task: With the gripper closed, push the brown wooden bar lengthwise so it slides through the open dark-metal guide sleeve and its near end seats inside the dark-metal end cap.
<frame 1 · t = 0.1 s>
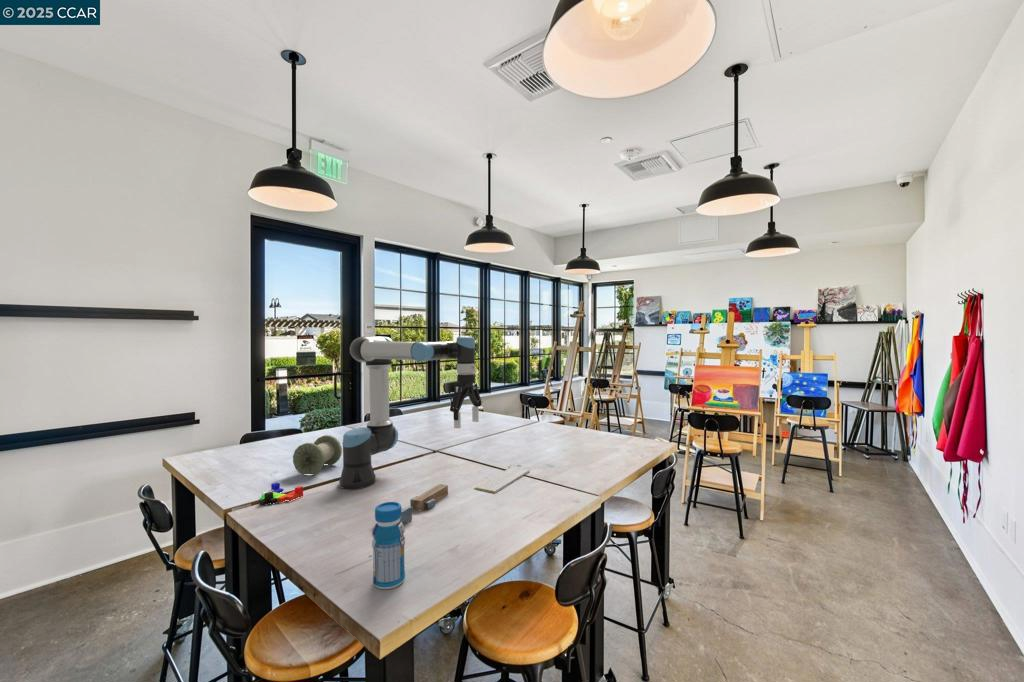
hand: (466, 424, 176), 28 cm above the table, fingers open, 13 cm apart
spool: (318, 470, 206), on the table
brown wooden bar: (430, 502, 166), on the table
beverage bottle: (389, 581, 112), on the table
end cap: (394, 521, 148), on the table
baseboard: (501, 481, 190), on the table
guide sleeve: (422, 505, 161), on the table
building blocks: (275, 501, 169), on the table
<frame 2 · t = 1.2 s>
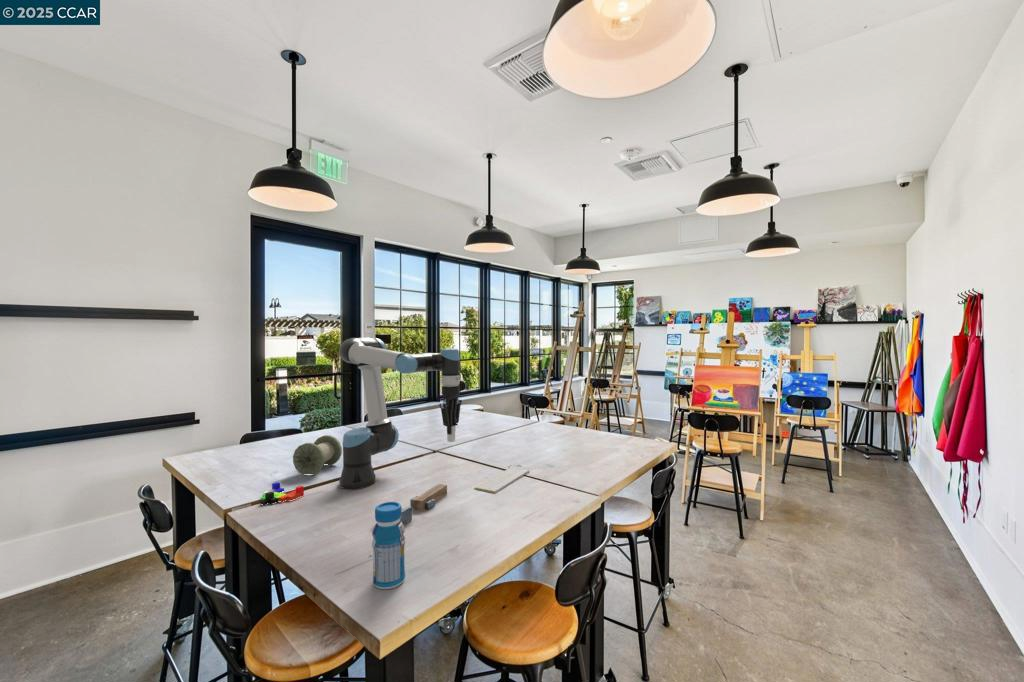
hand: (451, 441, 178), 20 cm above the table, fingers closed
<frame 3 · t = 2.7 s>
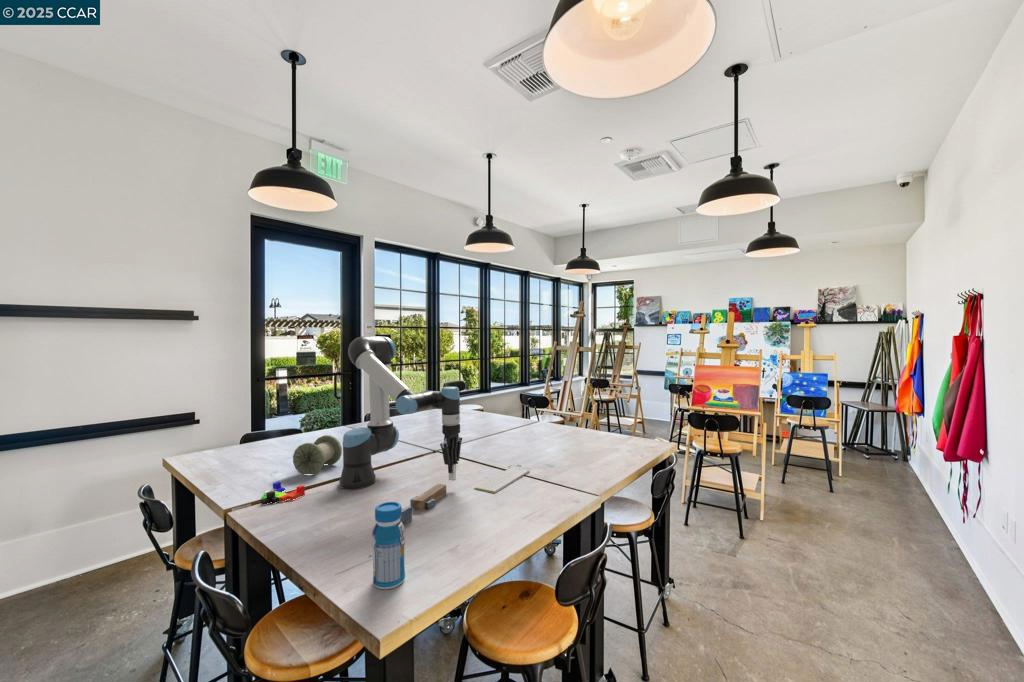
hand: (452, 479, 178), 4 cm above the table, fingers closed
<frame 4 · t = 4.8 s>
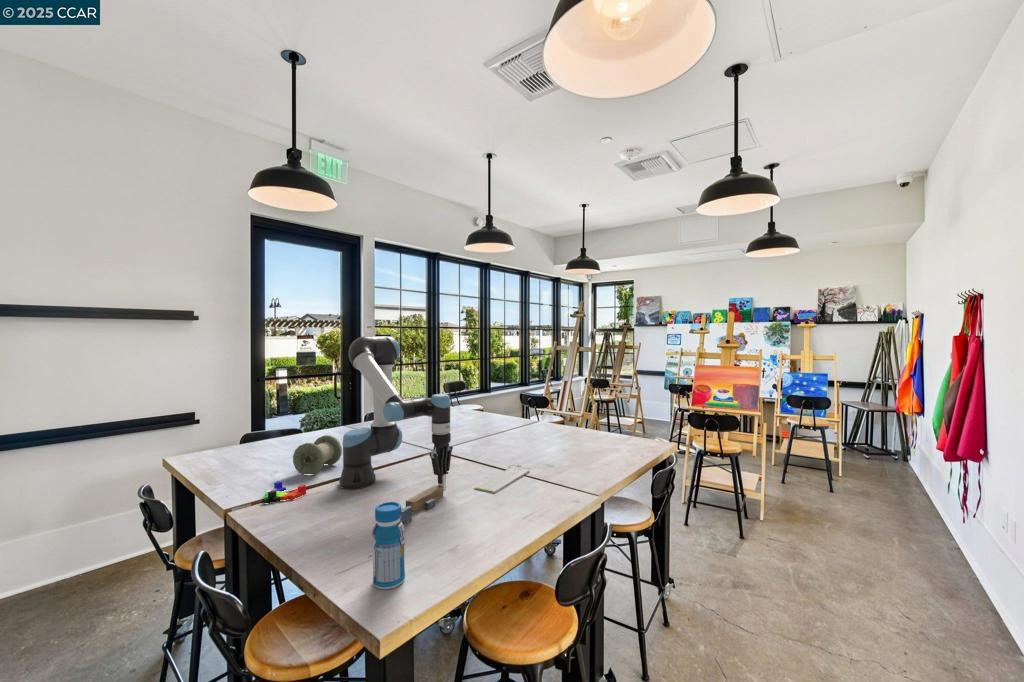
hand: (442, 490, 172), 2 cm above the table, fingers closed
brown wooden bar: (425, 503, 164), on the table, touching gripper
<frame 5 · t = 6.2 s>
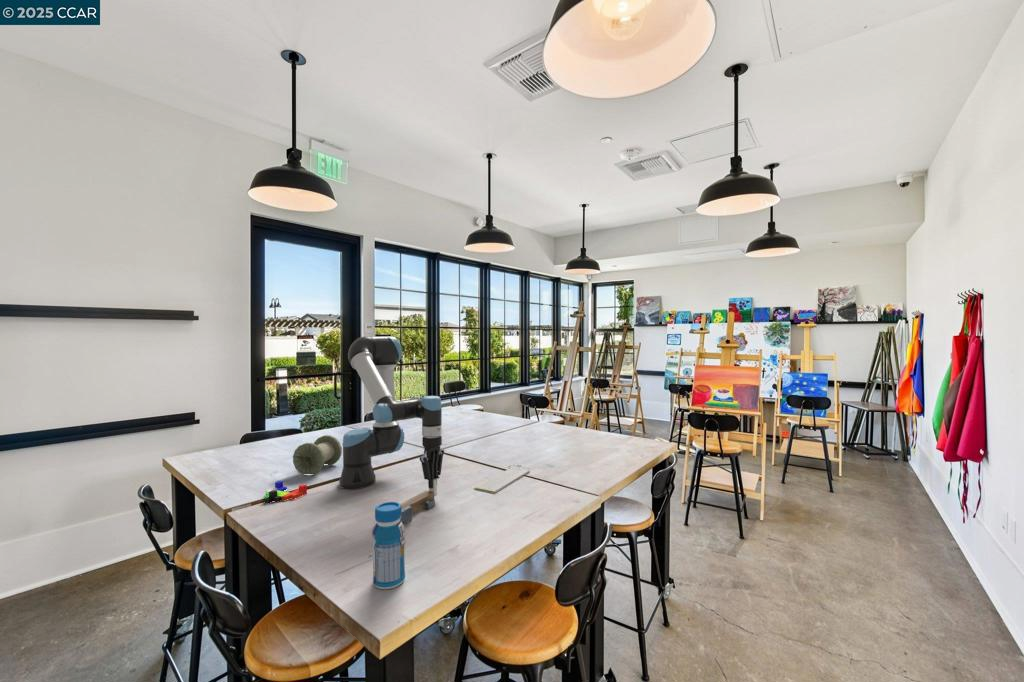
hand: (432, 495, 167), 2 cm above the table, fingers closed
brown wooden bar: (415, 509, 159), on the table
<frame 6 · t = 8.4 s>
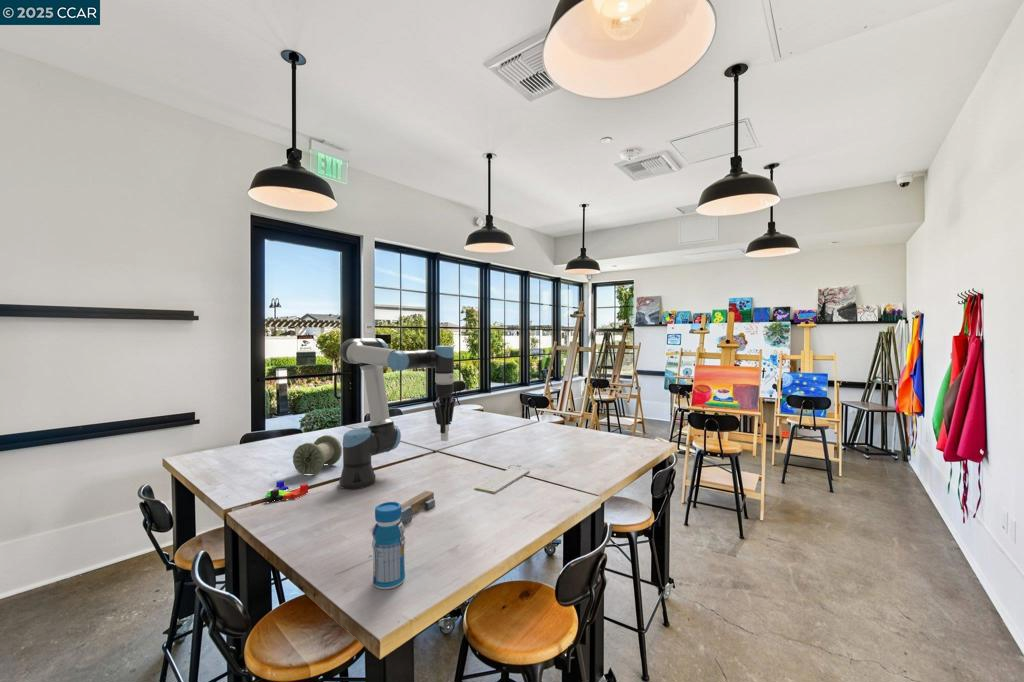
hand: (444, 440, 174), 22 cm above the table, fingers closed
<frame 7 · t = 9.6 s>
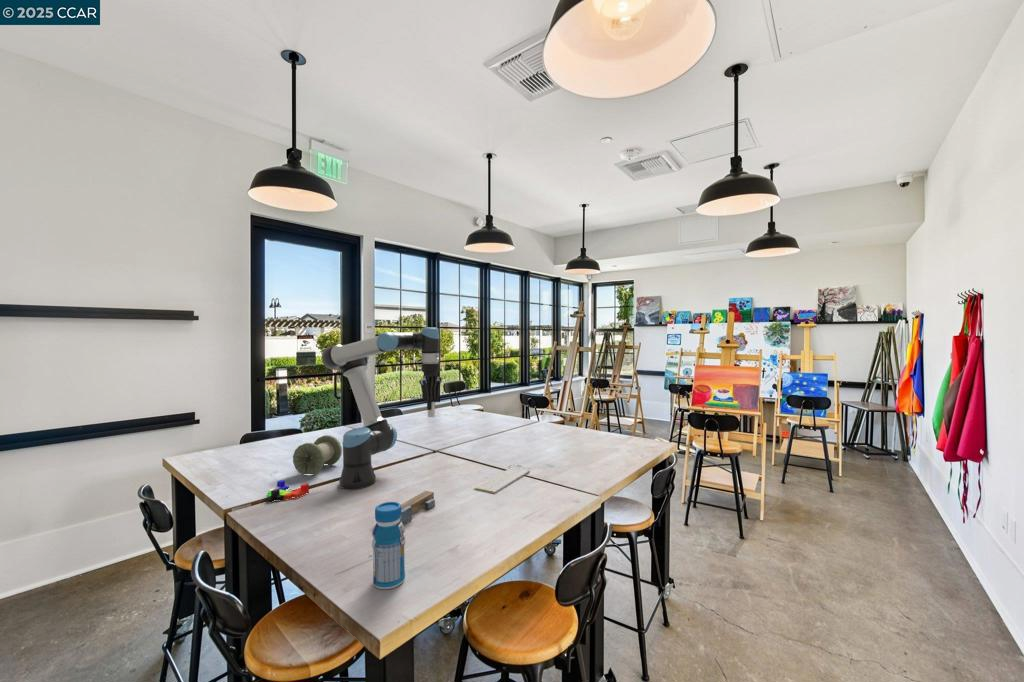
hand: (431, 416, 185), 29 cm above the table, fingers closed
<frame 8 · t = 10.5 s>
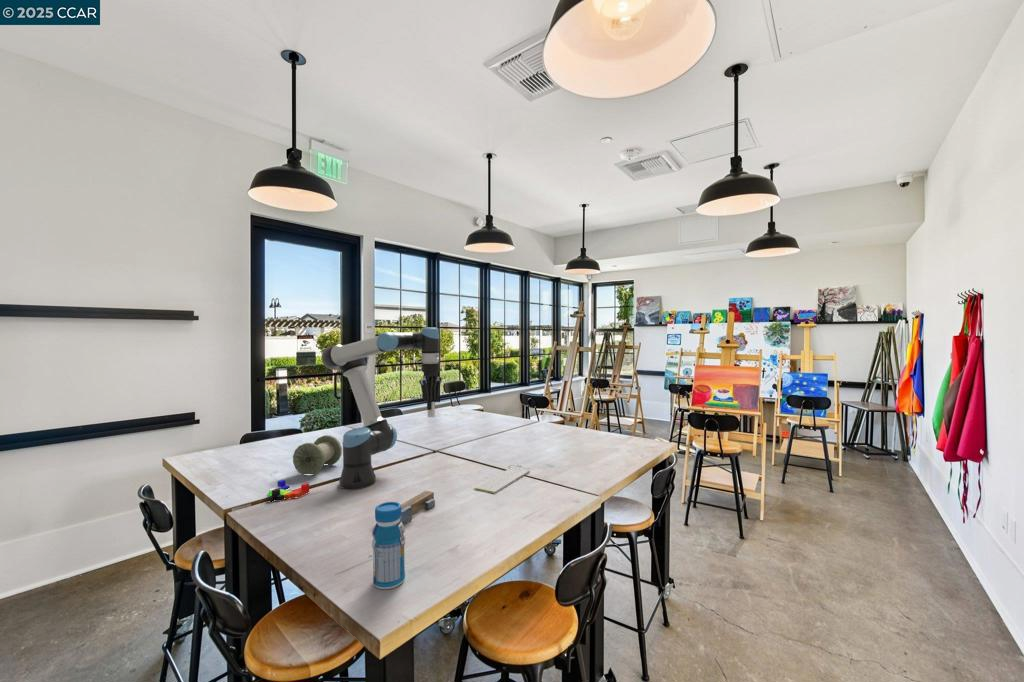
hand: (431, 416, 185), 29 cm above the table, fingers closed
at the end: brown wooden bar moved 8.7 cm from its start; brown wooden bar 1.9 cm from the target spot, on the table; brown wooden bar tilted 0° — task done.
